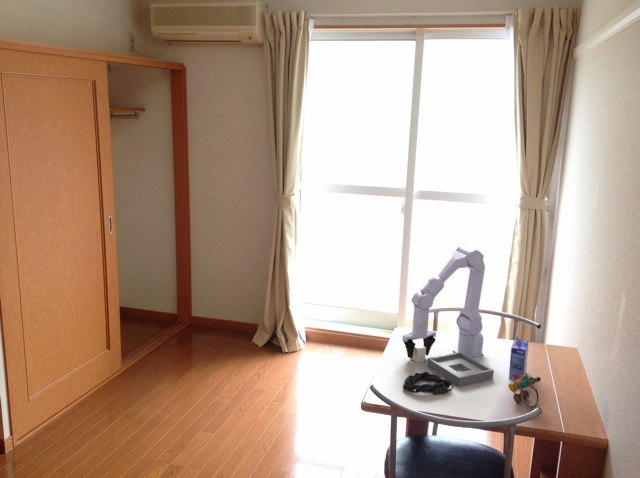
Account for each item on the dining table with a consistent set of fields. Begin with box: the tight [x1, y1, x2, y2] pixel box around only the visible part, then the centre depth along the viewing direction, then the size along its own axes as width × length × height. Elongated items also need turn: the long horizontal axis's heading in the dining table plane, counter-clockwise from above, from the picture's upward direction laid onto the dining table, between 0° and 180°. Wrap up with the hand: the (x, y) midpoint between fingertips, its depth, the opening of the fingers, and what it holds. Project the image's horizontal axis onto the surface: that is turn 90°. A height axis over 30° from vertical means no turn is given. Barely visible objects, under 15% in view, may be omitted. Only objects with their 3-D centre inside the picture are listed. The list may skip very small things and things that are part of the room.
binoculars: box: [507, 375, 542, 408], centre depth 189 cm, size 9×9×10 cm
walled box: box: [426, 352, 495, 388], centre depth 211 cm, size 16×18×4 cm
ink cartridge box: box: [508, 336, 530, 381], centre depth 210 cm, size 10×6×14 cm, turn 155°
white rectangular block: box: [411, 343, 427, 363], centre depth 222 cm, size 4×4×6 cm
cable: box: [402, 371, 454, 396], centre depth 199 cm, size 17×14×4 cm
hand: (418, 356), depth 222 cm, fingers open, 7 cm apart
